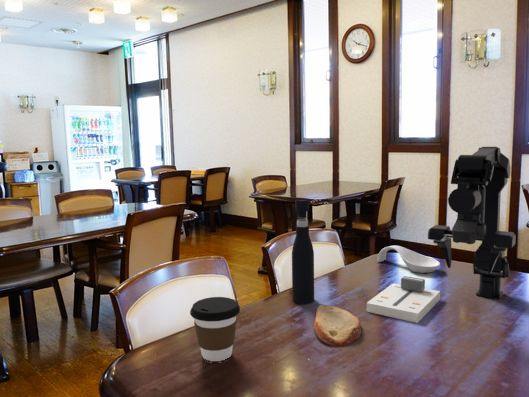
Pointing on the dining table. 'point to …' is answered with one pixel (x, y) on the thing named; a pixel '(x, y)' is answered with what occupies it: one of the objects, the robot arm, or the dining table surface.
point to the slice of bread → (336, 326)
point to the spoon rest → (411, 259)
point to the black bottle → (302, 258)
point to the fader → (412, 284)
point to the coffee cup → (215, 326)
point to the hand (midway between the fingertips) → (469, 270)
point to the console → (403, 303)
